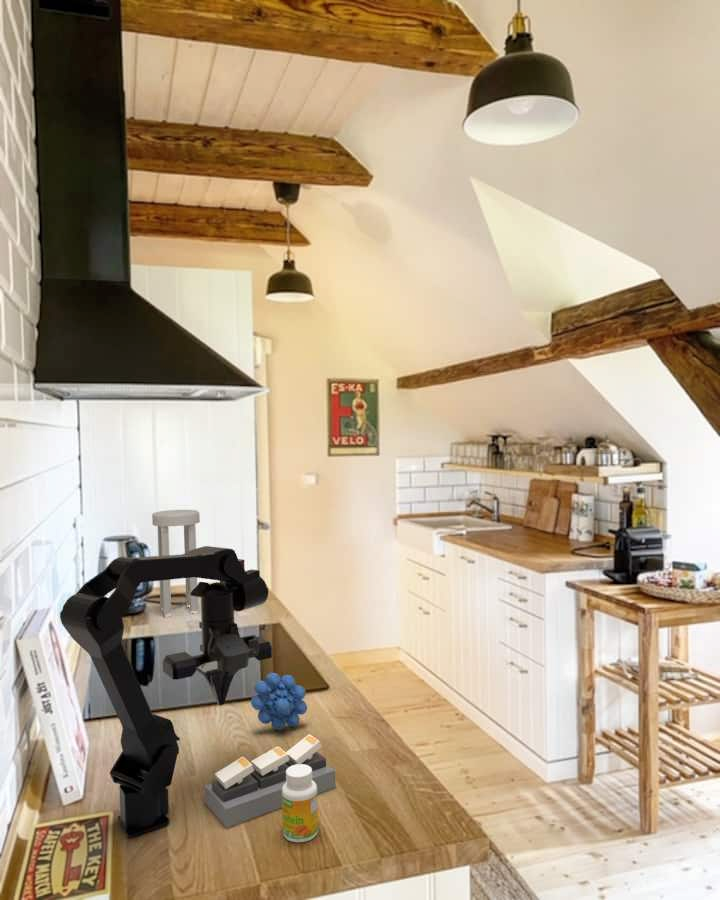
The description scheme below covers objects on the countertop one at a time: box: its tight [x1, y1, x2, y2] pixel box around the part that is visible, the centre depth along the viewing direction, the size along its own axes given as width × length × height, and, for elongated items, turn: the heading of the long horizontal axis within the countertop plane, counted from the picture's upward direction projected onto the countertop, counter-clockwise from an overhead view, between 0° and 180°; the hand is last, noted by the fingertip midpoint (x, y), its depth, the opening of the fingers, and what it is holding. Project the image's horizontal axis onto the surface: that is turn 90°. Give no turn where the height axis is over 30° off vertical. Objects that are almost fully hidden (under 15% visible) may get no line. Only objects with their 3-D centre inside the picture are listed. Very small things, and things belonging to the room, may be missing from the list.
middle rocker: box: [250, 745, 289, 776], centre depth 115 cm, size 5×4×2 cm
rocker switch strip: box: [203, 751, 337, 829], centre depth 115 cm, size 20×9×4 cm, turn 124°
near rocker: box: [214, 756, 254, 789], centre depth 111 cm, size 5×4×2 cm
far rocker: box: [285, 733, 323, 764], centre depth 119 cm, size 5×4×2 cm
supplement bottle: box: [281, 764, 319, 843], centre depth 104 cm, size 5×5×10 cm
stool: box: [151, 509, 201, 615], centre depth 238 cm, size 16×16×35 cm
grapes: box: [250, 672, 308, 731], centre depth 140 cm, size 12×7×12 cm, turn 109°
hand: (220, 704), depth 122 cm, fingers closed
